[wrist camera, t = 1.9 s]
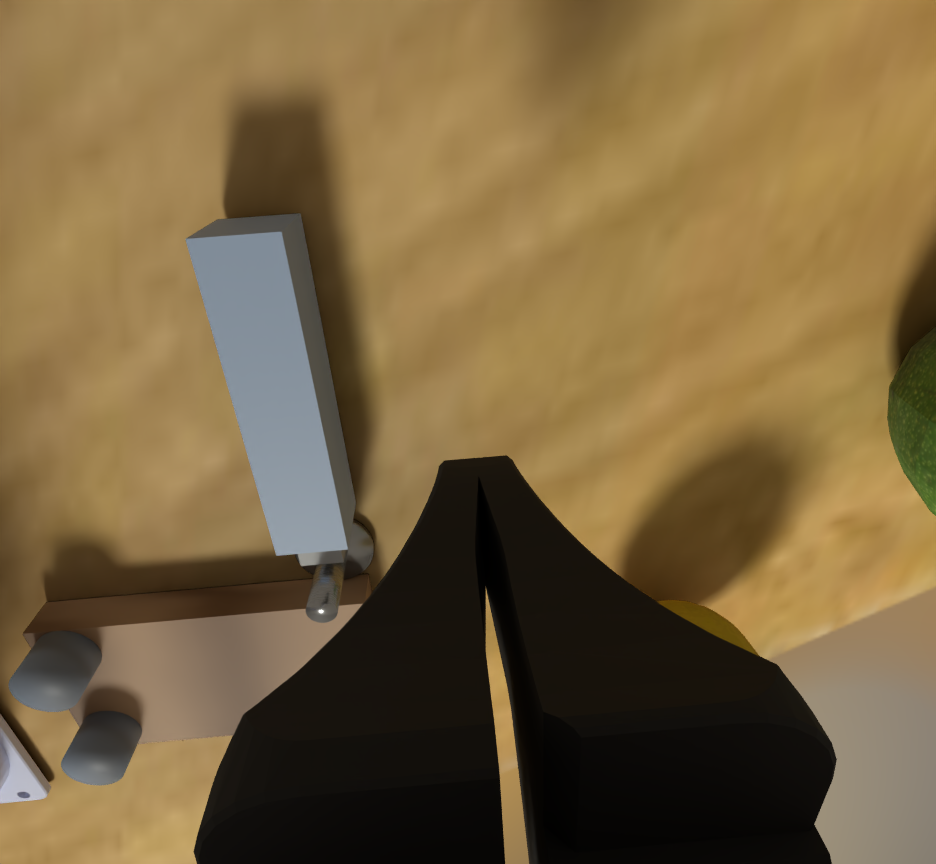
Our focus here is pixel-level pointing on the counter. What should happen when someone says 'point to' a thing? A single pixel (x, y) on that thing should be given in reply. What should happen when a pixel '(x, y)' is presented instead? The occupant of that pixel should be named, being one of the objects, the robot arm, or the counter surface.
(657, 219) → the counter surface
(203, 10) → the counter surface
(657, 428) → the counter surface
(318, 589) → the pivot pin
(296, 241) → the hinged leg
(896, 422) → the avocado
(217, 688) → the board
